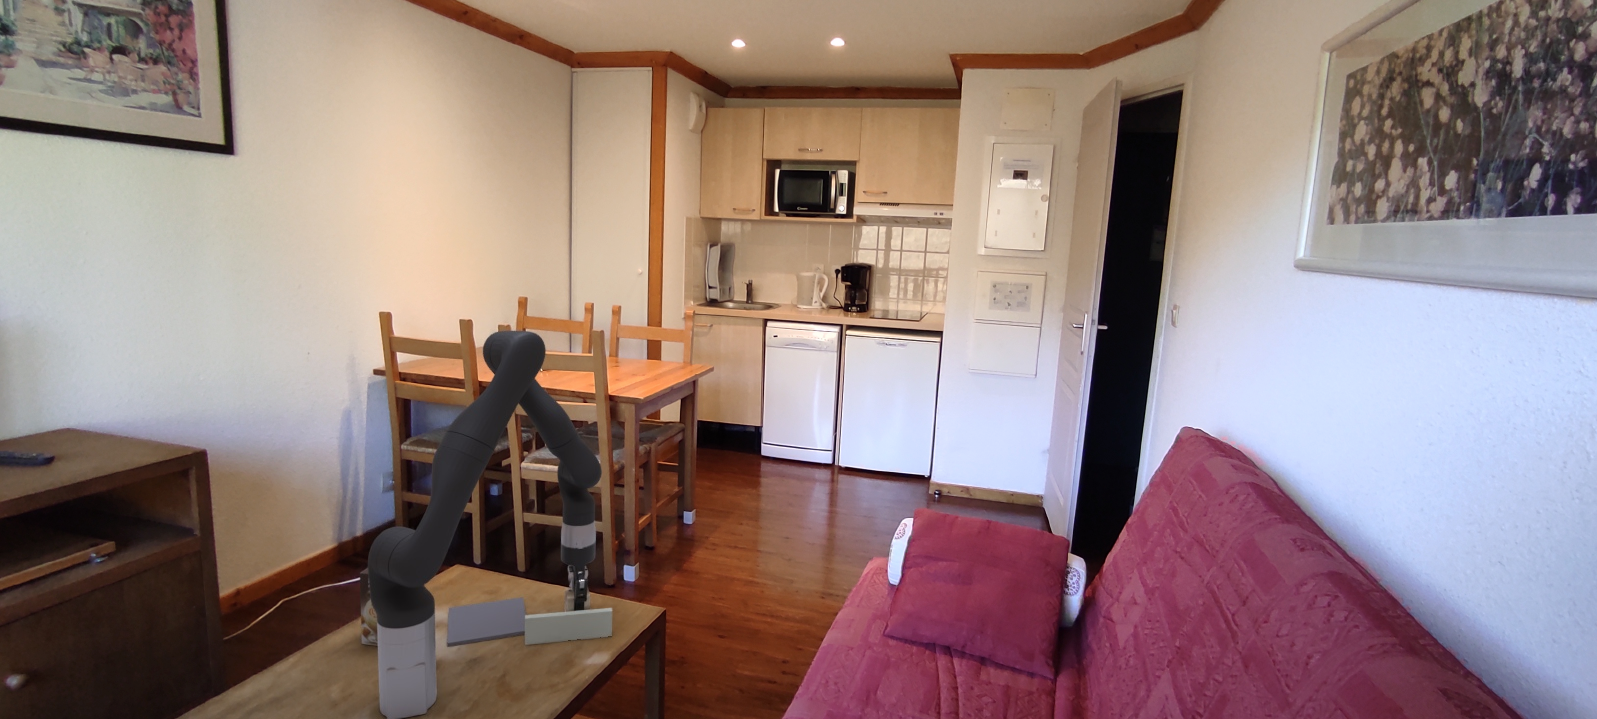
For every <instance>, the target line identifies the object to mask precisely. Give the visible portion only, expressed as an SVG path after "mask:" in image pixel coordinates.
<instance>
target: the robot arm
mask: <svg viewBox="0 0 1597 719" xmlns="http://www.w3.org/2000/svg"><path fill="white" fill-rule="evenodd" d="M546 354H547V353H546V345H545V341H544V339H542V337H541V336H540V335H539V334H538V333H535V332H532V331H528V330H527V331H526V330H499V331H495V332H492V334H489V336H488V337H487V338H486V339H485V341H484V344H483V347H482V355H483V361H484V362H485V364H486V366H487V367H488V369H489V370H490V371H491V373H492V374H494V375H493V377H492V379H491V381H490V383H489V384H488V385H487V387H486V388H485V389H484V390H483V392H482V393H481V394H480V395H479V396H478V397H477V398H476V399H475V400H473V401H472V402H471V403H470V404H469V405H468V406H467V407H466V408H465V409H464V410H462V411H461V412H460V413H459V414H458V415H457V416H456V417H455V419H454V420H453V421H452V423H451V424H450V425H449V427H448V428H447V430H446V431H445V433H444V435H443V437H442V439H441V440H440V443H439V444H438V447H437V449H436V450H435V452H434V455H433V458H432V463H431V464H432V465H431V487H430V488H431V489H430V498H429V502H428V505H427V508H426V511H425V513H424V514H423V517H422V518H421V520H420V522H419V524H418V525H417V527H416V529H412V528H409V527H405V526H398V525H397V526H392V527H389V528H387V529H385V530H383V531H381V533H380V534H378V535H377V537H375V539H374V540H373V542H372V544H371V546H370V549H369V553H368V558H367V567H368V576H369V587H370V597H371V603H372V606H373V608H374V610H375V612H376V614H377V633H378V646H377V662H378V663H377V664H378V667H377V668H378V689H379V692H378V697H379V710H380V713H381V715H383V716H385V717H386V719H404V718H409V717H415V716H420V715H424V714H427V711H428V709H429V708H431V707H432V706H433V705H434V704H435V703H436V701H437V695H438V694H437V691H438V690H437V689H438V688H437V658H436V657H437V655H436V654H437V652H436V649H437V648H436V645H437V644H436V604H435V601H436V600H435V598H434V595H433V593H432V592H431V591H429V590H428V588H427V587H426V586H425V585H426V584H427V583H429V582H431V580H432V579H434V577H435V576H436V574H437V573H438V572H439V570H440V568H441V566H443V562H444V561H445V559H446V556H447V554H448V550H449V548H450V546H451V544H452V541H453V538H454V535H455V534H456V533H455V532H456V531H457V528H458V525H459V523H460V520H461V518H462V517H463V516H462V515H463V513H464V511H465V509H466V507H467V504H468V503H469V501H470V499H471V496H472V494H473V492H474V490H475V488H476V486H477V484H478V483H479V480H480V478H481V476H482V475H483V473H484V471H485V470H486V467H487V466H488V464H489V461H490V460H491V458H492V455H493V454H494V452H495V450H496V447H497V445H498V443H499V441H500V439H501V437H502V435H503V433H504V431H505V430H506V427H507V426H508V424H509V422H510V420H511V419H512V416H513V415H514V412H515V411H516V408H517V407H518V405H519V406H520V407H521V409H522V410H523V411H524V412H525V414H526V416H527V417H528V419H529V420H530V421H531V423H532V424H533V426H534V427H535V429H536V431H537V433H538V434H539V437H541V439H542V442H543V443H544V445H545V446H546V448H547V449H548V451H549V452H550V453H551V454H552V455H553V456H554V457H555V458H557V459H559V462H558V466H557V470H556V472H557V473H556V474H557V475H556V476H557V481H558V487H559V492H560V497H561V500H562V522H561V524H562V525H561V531H560V540H561V541H560V561H561V562H562V563H563V564H565V565H568V566H567V573H568V583H569V588H571V590H572V591H573V593H574V598H573V600H574V611H580V610H584V602H586V601H587V587H588V585H589V580H588V579H589V578H588V576H589V570H588V569H589V568H587V564H590V563H592V562H594V560H595V559H596V542H597V541H596V537H597V535H596V534H597V528H596V520H595V519H596V501H595V497H594V496H593V495H592V494H591V493H590V491H589V490H588V489H592V488H594V487H596V485H598V483H599V482H600V480H601V478H602V473H603V472H602V466H601V463H600V461H599V459H598V457H597V455H595V453H594V452H593V451H592V449H591V448H590V447H589V446H588V445H587V443H586V442H585V441H584V440H583V439H582V437H581V436H580V435H579V433H578V430H577V429H576V427H575V425H574V423H573V422H572V420H571V418H570V416H569V414H568V413H567V411H565V409H564V408H563V407H562V406H561V404H560V403H558V401H557V400H556V399H555V398H553V397H552V395H550V394H549V392H547V391H546V390H545V388H544V387H543V386H542V385H541V384H540V383H539V381H537V379H536V377H537V375H538V374H539V372H540V370H541V369H542V366H544V365H543V364H544V362H545V359H546ZM588 588H589V587H588ZM580 594H582V595H580ZM578 595H580V596H578Z"/></svg>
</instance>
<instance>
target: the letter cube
mask: <svg viewBox="0 0 1597 719" xmlns="http://www.w3.org/2000/svg"><path fill="white" fill-rule="evenodd" d="M589 590H590V589H589V587H587V601H586V602H584V610H591V593H590V591H589ZM580 595H582V594H580ZM580 595H578V596H580ZM573 598H574V593H573V591H572V590H571V588H570V587H568V588H564V612H569V611H574V600H573Z"/></svg>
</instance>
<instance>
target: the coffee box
mask: <svg viewBox="0 0 1597 719" xmlns="http://www.w3.org/2000/svg"><path fill="white" fill-rule="evenodd" d="M359 587H360V589H359V590H360V591H359V594H360V596H359V597H360V622H361V624H360V628H361V630H360V631H361V633H360V634H361V644H362V645H369V646H376V647H378V633H377V614H376V612H375V610H374V608H373V606H372V603H371V597H370V587H369V576H368V566H367V567H366V568H365V569H364V570H362V571H360V572H359Z"/></svg>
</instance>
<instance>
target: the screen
mask: <svg viewBox="0 0 1597 719" xmlns="http://www.w3.org/2000/svg"><path fill="white" fill-rule="evenodd" d="M608 636H613V607H605V608H595V609H594V608H593V609H590V610H580V611H569V612H565V611H559V612H558V611H557V612H549V613H547V612H546V613H536V614H526V615H525V634H524V645H525V646H527V645H536V644H537V645H538V644H548V643H560V642H568V640H571V641H578V640H577V639H581V640H589V639H591V640H592V639H601V638H609V637H608ZM600 637H601V638H600Z"/></svg>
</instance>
